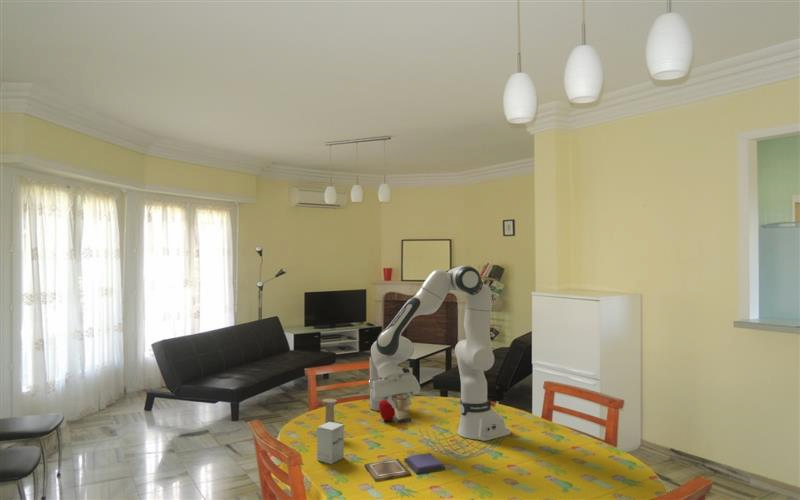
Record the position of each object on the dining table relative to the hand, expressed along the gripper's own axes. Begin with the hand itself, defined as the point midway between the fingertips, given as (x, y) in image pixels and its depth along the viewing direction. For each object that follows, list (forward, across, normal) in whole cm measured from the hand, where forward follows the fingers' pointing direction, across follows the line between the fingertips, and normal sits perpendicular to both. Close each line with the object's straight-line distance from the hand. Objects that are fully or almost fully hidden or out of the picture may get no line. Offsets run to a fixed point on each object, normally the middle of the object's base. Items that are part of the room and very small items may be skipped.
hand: (402, 406), depth 200 cm
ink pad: (+24, 0, +1) cm, 24 cm away
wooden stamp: (+4, 0, +5) cm, 6 cm away
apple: (-12, +11, +37) cm, 40 cm away
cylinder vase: (-25, +17, +50) cm, 58 cm away
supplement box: (+8, -28, +16) cm, 33 cm away
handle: (-8, -20, +32) cm, 39 cm away
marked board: (+22, -14, +2) cm, 26 cm away
